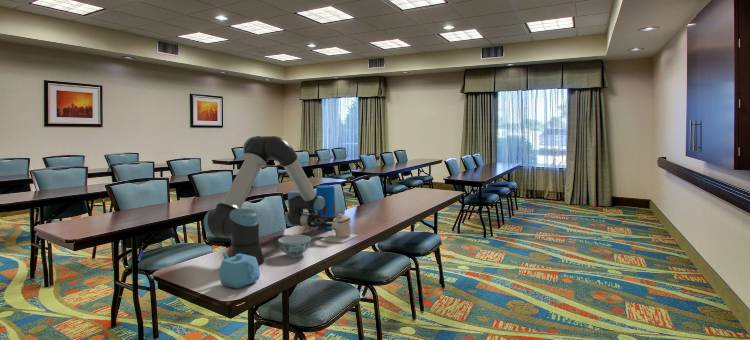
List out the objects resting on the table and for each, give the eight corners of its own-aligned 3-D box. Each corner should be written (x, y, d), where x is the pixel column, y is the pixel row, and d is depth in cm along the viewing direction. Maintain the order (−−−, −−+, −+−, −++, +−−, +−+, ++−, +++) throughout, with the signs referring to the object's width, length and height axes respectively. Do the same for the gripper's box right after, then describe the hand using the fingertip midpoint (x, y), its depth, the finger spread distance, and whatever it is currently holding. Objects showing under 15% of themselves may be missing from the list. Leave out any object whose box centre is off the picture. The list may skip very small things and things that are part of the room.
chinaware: (309, 259, 184) (308, 242, 184) (275, 260, 184) (274, 243, 184) (313, 250, 199) (313, 234, 199) (282, 250, 199) (282, 235, 199)
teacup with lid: (355, 231, 225) (351, 211, 222) (346, 238, 217) (342, 217, 215) (337, 230, 231) (333, 211, 229) (328, 237, 223) (323, 216, 221)
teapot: (236, 274, 167) (235, 246, 166) (266, 282, 157) (265, 253, 156) (209, 283, 157) (207, 254, 156) (239, 293, 147) (238, 261, 146)
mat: (343, 243, 211) (343, 242, 211) (320, 240, 217) (320, 239, 216) (357, 236, 225) (357, 234, 225) (335, 233, 231) (335, 232, 231)
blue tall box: (329, 225, 253) (328, 184, 250) (339, 228, 244) (338, 186, 242) (314, 228, 246) (312, 186, 243) (323, 231, 237) (322, 188, 235)
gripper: (322, 222, 239) (355, 225, 230) (297, 231, 217) (332, 235, 208) (322, 209, 238) (355, 211, 229) (296, 217, 216) (331, 220, 207)
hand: (344, 222), depth 219 cm, fingers open, 13 cm apart
